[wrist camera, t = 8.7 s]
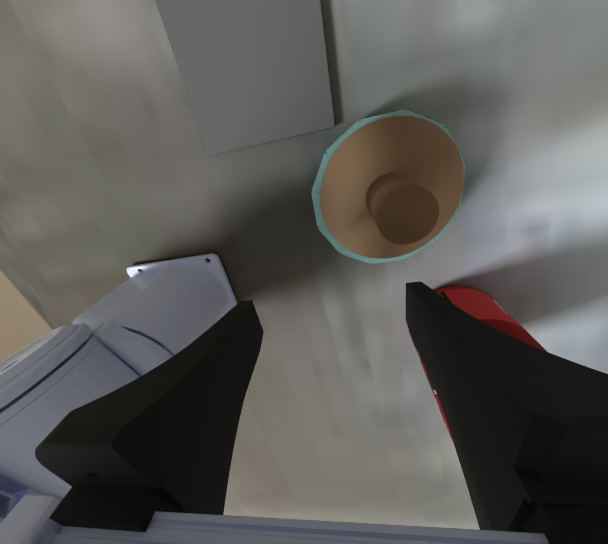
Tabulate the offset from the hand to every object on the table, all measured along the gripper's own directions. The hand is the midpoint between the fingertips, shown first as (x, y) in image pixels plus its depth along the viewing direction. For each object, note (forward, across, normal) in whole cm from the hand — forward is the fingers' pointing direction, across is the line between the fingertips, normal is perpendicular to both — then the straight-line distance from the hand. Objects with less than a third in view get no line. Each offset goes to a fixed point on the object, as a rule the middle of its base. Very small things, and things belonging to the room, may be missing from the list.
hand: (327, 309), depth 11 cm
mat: (+10, +3, -12) cm, 16 cm away
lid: (+7, -4, -3) cm, 8 cm away
